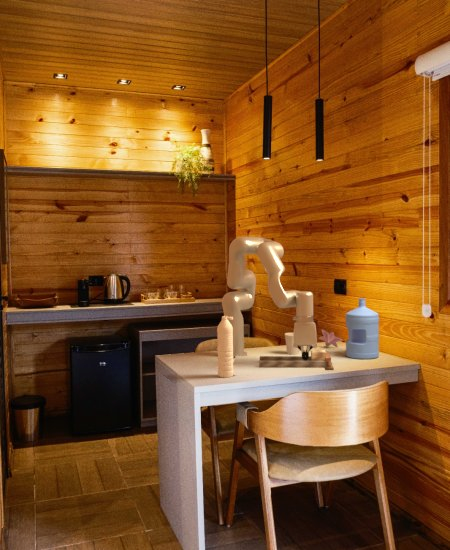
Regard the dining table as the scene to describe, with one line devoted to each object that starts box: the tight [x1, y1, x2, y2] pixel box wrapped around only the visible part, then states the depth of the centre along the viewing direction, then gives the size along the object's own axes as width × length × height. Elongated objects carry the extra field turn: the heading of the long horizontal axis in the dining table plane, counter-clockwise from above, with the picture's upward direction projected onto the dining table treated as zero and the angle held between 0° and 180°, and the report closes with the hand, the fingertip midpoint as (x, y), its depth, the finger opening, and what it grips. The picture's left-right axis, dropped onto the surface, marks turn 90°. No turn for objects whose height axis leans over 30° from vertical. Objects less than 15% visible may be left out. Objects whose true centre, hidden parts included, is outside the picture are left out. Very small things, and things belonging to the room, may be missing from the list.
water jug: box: [345, 297, 380, 360], centre depth 271 cm, size 16×16×28 cm
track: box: [258, 352, 334, 371], centre depth 250 cm, size 32×14×5 cm, turn 85°
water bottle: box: [216, 315, 234, 378], centre depth 232 cm, size 9×6×25 cm
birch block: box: [310, 349, 327, 361], centre depth 249 cm, size 6×6×6 cm
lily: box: [318, 329, 343, 349], centre depth 295 cm, size 12×12×10 cm
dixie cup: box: [284, 332, 300, 356], centre depth 281 cm, size 8×8×10 cm
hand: (305, 360), depth 249 cm, fingers closed
